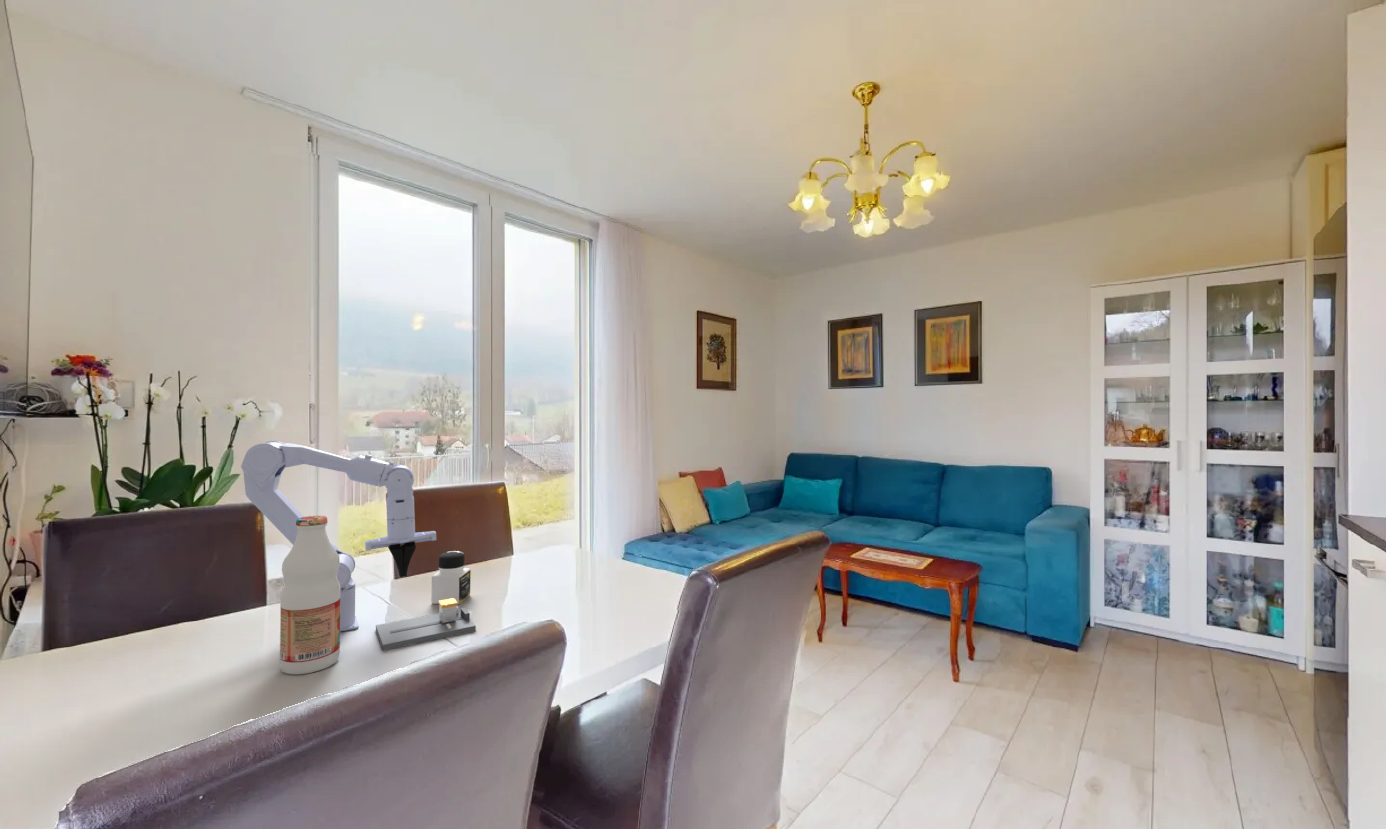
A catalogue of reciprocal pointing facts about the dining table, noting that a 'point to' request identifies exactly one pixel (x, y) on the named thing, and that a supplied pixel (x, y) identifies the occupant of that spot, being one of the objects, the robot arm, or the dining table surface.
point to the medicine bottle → (451, 578)
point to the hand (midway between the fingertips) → (402, 575)
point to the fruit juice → (310, 601)
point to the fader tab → (447, 610)
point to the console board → (422, 629)
